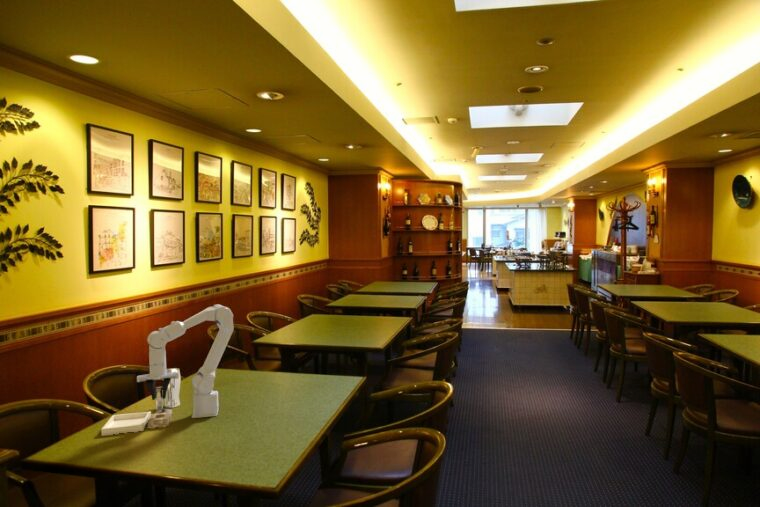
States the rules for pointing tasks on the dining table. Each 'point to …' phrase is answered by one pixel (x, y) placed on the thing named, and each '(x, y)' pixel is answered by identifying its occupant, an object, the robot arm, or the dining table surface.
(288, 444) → the dining table surface
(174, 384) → the beer glass
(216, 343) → the robot arm
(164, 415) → the block
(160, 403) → the pin
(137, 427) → the tray
